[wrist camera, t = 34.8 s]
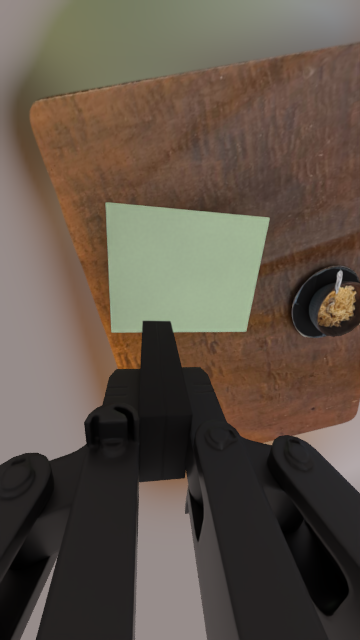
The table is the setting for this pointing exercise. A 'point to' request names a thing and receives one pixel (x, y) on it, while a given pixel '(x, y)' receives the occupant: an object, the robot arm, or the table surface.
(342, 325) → the soup bowl
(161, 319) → the chest lid
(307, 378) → the table surface
